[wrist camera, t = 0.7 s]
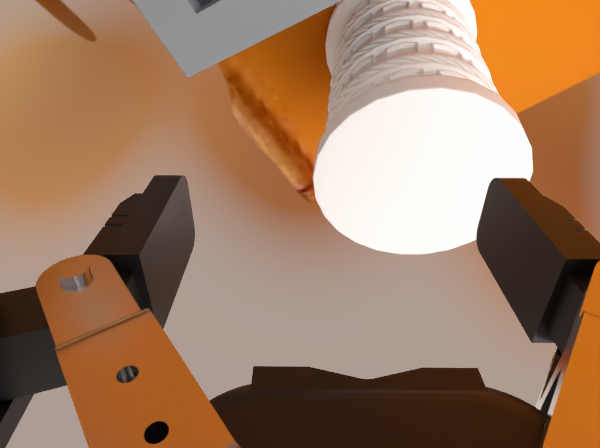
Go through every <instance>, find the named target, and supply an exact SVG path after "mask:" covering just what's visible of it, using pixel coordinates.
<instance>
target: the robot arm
mask: <svg viewBox="0 0 600 448" xmlns="http://www.w3.org/2000/svg"><path fill="white" fill-rule="evenodd" d="M194 238H195V229H194V221H193V215H192V208H191V201H190V195H189V189H188V183H187V179H186V177H185V176H175V175H174V176H173V175H172V176H171V175H165V176H164V175H158V176H157V175H156V176H154V177H153V179H152V181H151V182H150V183H149V185H148V186H147V188H146V189H145V191H144V192H143V194H134V195H132V196H131V197H129V198H127V199H126V200H124V201H123V202H121V203H120V204H119V205H118V207H117V208H116V210H115V211H114V212H113V214H112V217H110V218H109V219H108V221H107V222H106V224H105V227H103V228H102V229H101V230H100V232H99V233H98V235H97V236H96V237H95V239H94V240H93V242H92V243H91V244H90V246H89V247H88V249H87V250H86V251H85V253H84V254H83V255H80V256H75V257H71V258H67V259H65V260H62V261H60V262H58V263H56V264H54V265H52V266H51V267H49V268H48V269H47V270H45V271H44V272H43V273H42V274H41V275H40V277H39V278H38V280H37V282H36V286H35V287H31V288H26V289H21V290H15V291H11V292H5V293H0V448H5V447H6V445H7V443H8V442H9V440H10V438H11V436H12V434H13V432H14V430H15V428H16V427H17V425H18V423H19V421H20V419H21V417H22V415H23V414H24V412H25V410H26V408H27V406H28V404H29V402H30V400H31V399H32V397H33V395H34V394H35V393H39V392H42V391H46V390H50V389H54V388H58V387H62V386H66V385H67V386H68V389H69V392H70V394H71V397H72V400H73V403H74V406H75V409H76V412H77V415H78V418H79V420H80V423H81V426H82V429H83V432H84V435H85V438H86V441H87V443H88V446H89V448H600V243H599V242H598V241H597V240H596V239H595V238H594V237H593V236H592V235H591V234H590V233H589V232H588V231H585V228H584V227H583V226H582V225H581V224H580V223H579V222H578V221H575V218H574V217H573V216H572V215H571V214H570V213H569V212H568V211H567V210H566V209H565V208H564V207H563V206H561V205H559V204H558V203H555V202H554V201H552V200H550V199H549V198H547V197H545V196H543V195H542V194H541V193H539V191H538V190H537V189H536V188H535V187H534V186H533V185H532V184H531V183H530V182H529V181H528V180H527V179H525V178H494V179H492V181H491V182H490V184H489V186H488V190H487V194H486V197H485V201H484V205H483V209H482V212H481V216H480V220H479V224H478V228H477V236H476V238H477V246H478V249H479V252H480V254H481V255H482V257H483V259H484V261H485V262H486V264H487V266H488V268H489V269H490V271H491V273H492V275H493V276H494V278H495V280H496V281H497V283H498V285H499V287H500V288H501V290H502V292H503V294H504V295H505V297H506V299H507V301H508V302H509V304H510V306H511V308H512V309H513V311H514V312H515V314H516V316H517V318H518V320H519V321H520V323H521V325H522V327H523V328H524V330H525V332H526V334H527V335H528V337H529V339H530V341H531V342H532V343H555V344H556V346H557V347H558V348H557V350H556V352H555V354H554V356H553V358H552V361H551V364H550V367H549V370H548V372H547V375H546V378H545V381H544V383H543V386H542V389H541V392H540V395H539V397H538V400H537V403H536V406H535V407H534V406H532V405H530V404H529V403H527V402H525V401H523V400H521V399H519V398H517V397H514V396H512V395H509V394H507V393H504V392H501V391H498V390H495V389H492V388H488V387H485V385H484V382H483V380H482V378H481V375H480V373H479V370H478V368H419V369H415V370H410V371H406V372H402V373H397V374H393V375H388V376H384V377H380V378H375V379H360V378H355V377H351V376H347V375H342V374H338V373H334V372H329V371H325V370H320V369H315V368H311V367H266V366H265V367H263V366H262V367H261V366H255V367H254V368H253V375H252V384H249V385H245V386H241V387H238V388H235V389H232V390H230V391H227V392H225V393H223V394H221V395H219V396H217V397H215V398H213V399H212V400H210V401H209V400H208V398H207V397H206V395H205V394H204V392H203V391H202V389H201V388H200V386H199V385H198V383H197V381H196V380H195V378H194V377H193V375H192V374H191V372H190V371H189V369H188V368H187V366H186V364H185V363H184V361H183V360H182V358H181V357H180V355H179V354H178V352H177V350H176V349H175V348H174V346H173V345H172V343H171V341H170V340H169V338H168V337H167V335H166V333H165V332H164V330H163V328H164V325H165V323H166V320H167V317H168V314H169V312H170V309H171V307H172V304H173V301H174V298H175V296H176V293H177V290H178V288H179V285H180V282H181V280H182V277H183V274H184V271H185V269H186V266H187V263H188V261H189V258H190V255H191V252H192V250H193V246H194Z"/></svg>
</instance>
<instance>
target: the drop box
mask: <svg viewBox="0 0 600 448" xmlns="http://www.w3.org/2000/svg"><path fill="white" fill-rule="evenodd" d="M132 1H133V2H134V3H135V5H136V6H137V8H138V9H139V10H140V12H141V13H142V14H143V16H144V17H145V19H146V20H147V22H148V23H149V24H150V26H151V27H152V29H153V30H154V31H155V33H156V34H157V36H158V37H159V38H160V40H161V41H162V43H163V44H164V45H165V47H166V48H167V50H168V51H169V52H170V54H171V55H172V57H173V58H174V59H175V61H176V62H177V64H178V65H179V66H180V68H181V69H182V71H183V72H184V73H185V75H186V76H187V78H188V77H191V76H193V75H195V74H197V73H199V72H201V71H203V70H205V69H207V68H209V67H210V66H213V65H214V64H217V63H219V62H221V61H223V60H225V59H227V58H229V57H231V56H233V55H235V54H237V53H239V52H241V51H243V50H245V49H247V48H249V47H251V46H253V45H255V44H257V43H259V42H261V41H263V40H264V39H266V38H268V37H270V36H272V35H274V34H276V33H278V32H280V31H282V30H284V29H286V28H288V27H290V26H292V25H294V24H296V23H298V22H300V21H302V20H304V19H306V18H308V17H310V16H312V15H314V14H316V13H318V12H320V11H322V10H324V9H326V8H328V7H330V6H332V5H334V4H336V3H338V2H340V1H342V0H132Z"/></svg>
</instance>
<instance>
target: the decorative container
mask: <svg viewBox="0 0 600 448" xmlns="http://www.w3.org/2000/svg"><path fill="white" fill-rule="evenodd" d="M476 37H477V27H476V18H475V12H474V10H473V8H472V5H471V3H470V1H469V0H342V1H340V2H338V3H337V5H336V7H335V9H334V11H333V13H332V15H331V18H330V20H329V26H328V31H327V37H326V43H325V47H326V60H327V65H328V68H329V71H330V73H331V78H332V79H331V81H330V87H331V90H330V95H329V104H328V106H327V110H328V121H327V122H326V130H325V132H324V134H323V136H322V137H321V139H320V141H319V144H318V149H317V154H316V159H315V165H314V172H313V183H314V191H315V198H316V200H317V202H318V204H319V206H320V208H321V210H322V213H323V214H324V216H325V217H326V218H327V220H328V221H329V222H330V223H331V224H332V225H333V226H334V227H335V228H336V229H337V230H338V231H339V232H340V233H342V234H343V235H345V236H347V237H348V238H350V239H352V240H353V241H354V242H356V243H359V244H361V245H364V246H367V247H369V248H372V249H375V250H378V251H384V252H390V253H396V254H428V253H433V252H439V251H445V250H449V249H452V248H455V247H458V246H461V245H464V244H467V243H469V242H472V241H474V240H476V239H477V238H476V236H477V228H478V224H479V220H480V216H481V212H482V209H483V205H484V201H485V197H486V194H487V190H488V186H489V184H490V182H491V181H492V179H494V178H525V179H527V180H528V181H530V178H531V175H532V172H533V162H532V147H531V145H530V143H529V140H528V138H527V136H526V134H525V132H524V129H523V127H522V125H521V123H520V121H519V119H518V116H517V114H516V112H515V111H514V110H513V109H512V108H511V107H510V106H509V105H508V104H507V103H506V102H505V101H504V100H503V99H502V98H501V96H500V95H499V93H498V91H497V89H496V87H495V86H494V85H493V81H492V79H491V74H490V71H489V69H488V67H487V66H486V64H485V62H484V60H483V59H482V56H481V53H480V49H479V46H478V45H477V43H476Z"/></svg>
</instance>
